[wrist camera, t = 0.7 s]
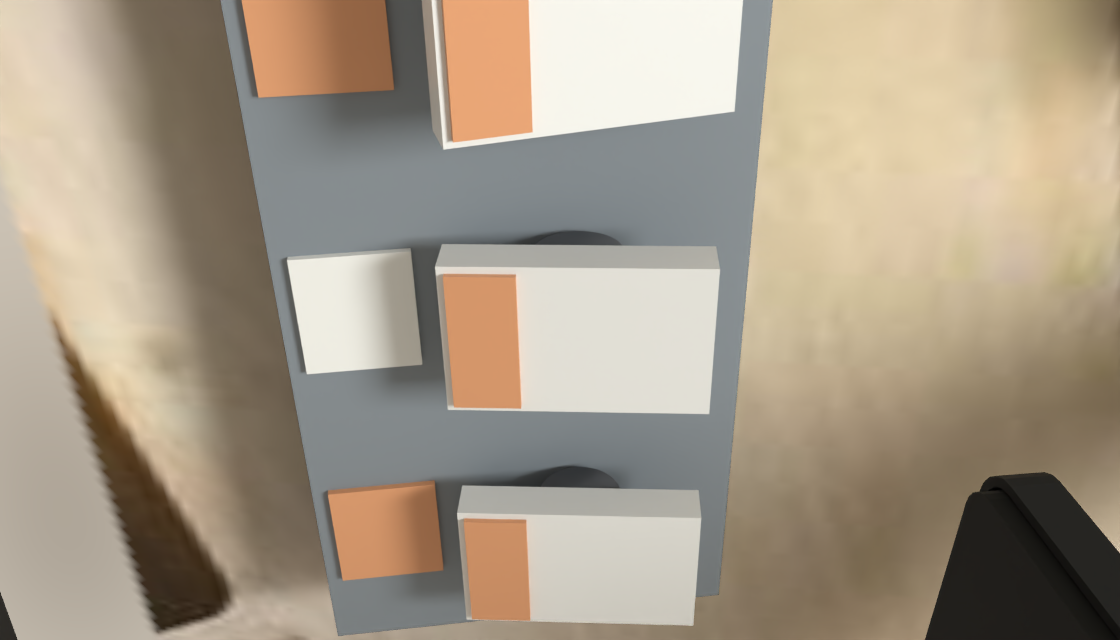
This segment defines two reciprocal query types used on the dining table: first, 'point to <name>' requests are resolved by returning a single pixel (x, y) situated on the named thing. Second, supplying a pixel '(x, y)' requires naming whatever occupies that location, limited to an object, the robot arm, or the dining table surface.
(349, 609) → the console
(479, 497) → the switch
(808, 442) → the dining table surface
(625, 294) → the switch
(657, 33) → the switch
